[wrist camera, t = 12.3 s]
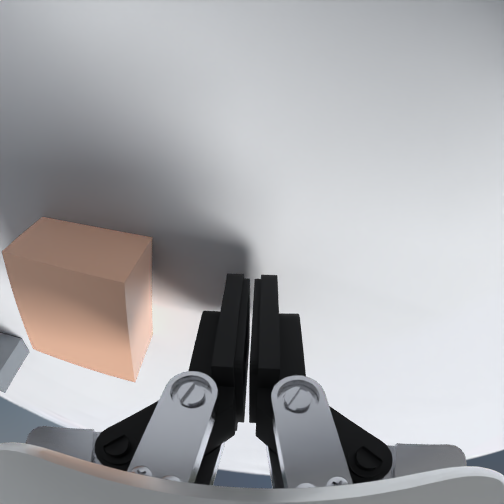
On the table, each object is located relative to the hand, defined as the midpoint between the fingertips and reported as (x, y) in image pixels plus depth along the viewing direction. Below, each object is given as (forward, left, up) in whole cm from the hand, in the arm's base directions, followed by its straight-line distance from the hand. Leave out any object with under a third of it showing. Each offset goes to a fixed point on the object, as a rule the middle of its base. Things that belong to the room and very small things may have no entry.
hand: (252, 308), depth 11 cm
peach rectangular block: (+6, 0, -1) cm, 7 cm away
